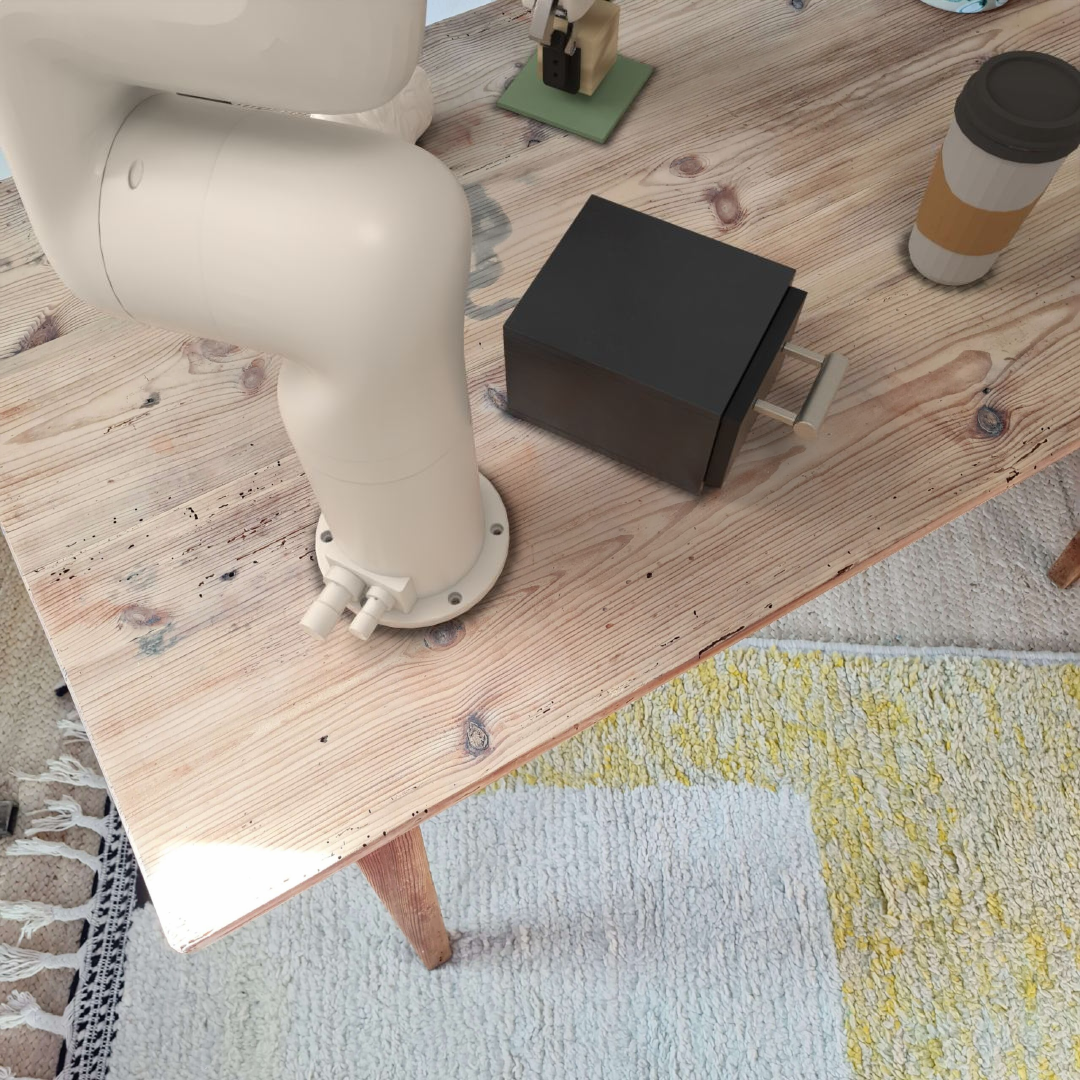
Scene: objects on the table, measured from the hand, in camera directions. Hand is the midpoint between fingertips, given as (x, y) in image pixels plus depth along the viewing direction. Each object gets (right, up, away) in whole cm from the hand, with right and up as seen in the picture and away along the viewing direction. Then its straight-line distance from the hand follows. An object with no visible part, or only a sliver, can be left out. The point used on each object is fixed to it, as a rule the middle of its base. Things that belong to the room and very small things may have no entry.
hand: (576, 64), depth 82 cm
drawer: (+7, -30, -14) cm, 34 cm away
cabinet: (+4, -29, -12) cm, 32 cm away
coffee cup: (+28, -18, -7) cm, 34 cm away
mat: (0, -1, +2) cm, 2 cm away
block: (0, 0, 0) cm, 0 cm away
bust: (-17, -7, -1) cm, 19 cm away
